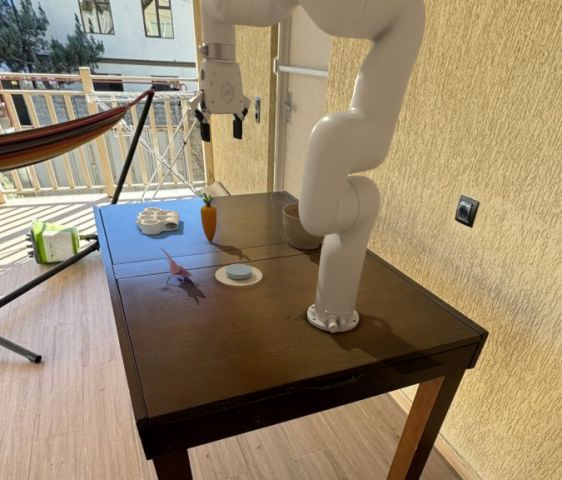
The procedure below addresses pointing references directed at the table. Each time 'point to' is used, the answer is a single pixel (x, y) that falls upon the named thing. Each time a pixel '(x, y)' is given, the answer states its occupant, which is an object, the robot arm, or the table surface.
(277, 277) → the table surface
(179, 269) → the lily
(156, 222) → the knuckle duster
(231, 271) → the blue-grey cylinder
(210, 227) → the carrot
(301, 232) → the planter bowl
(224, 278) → the dessert plate
